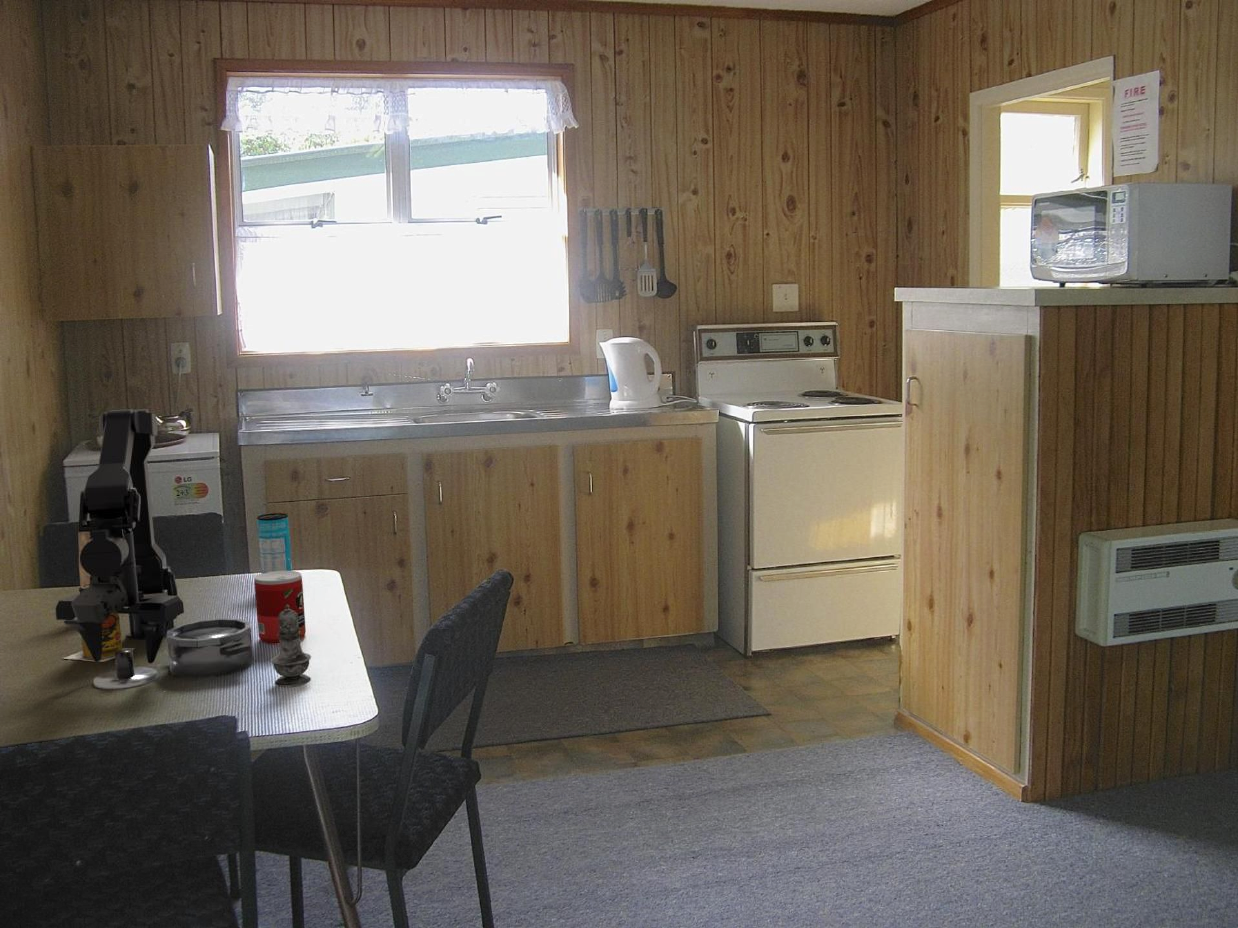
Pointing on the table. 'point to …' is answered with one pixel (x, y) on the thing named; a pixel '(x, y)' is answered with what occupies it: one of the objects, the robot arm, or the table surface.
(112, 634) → the condiment
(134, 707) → the table surface
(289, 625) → the salt shaker
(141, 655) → the table surface
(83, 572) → the pink tall tapered cone
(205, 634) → the pot
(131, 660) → the lid
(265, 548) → the beverage can
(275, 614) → the canned food
